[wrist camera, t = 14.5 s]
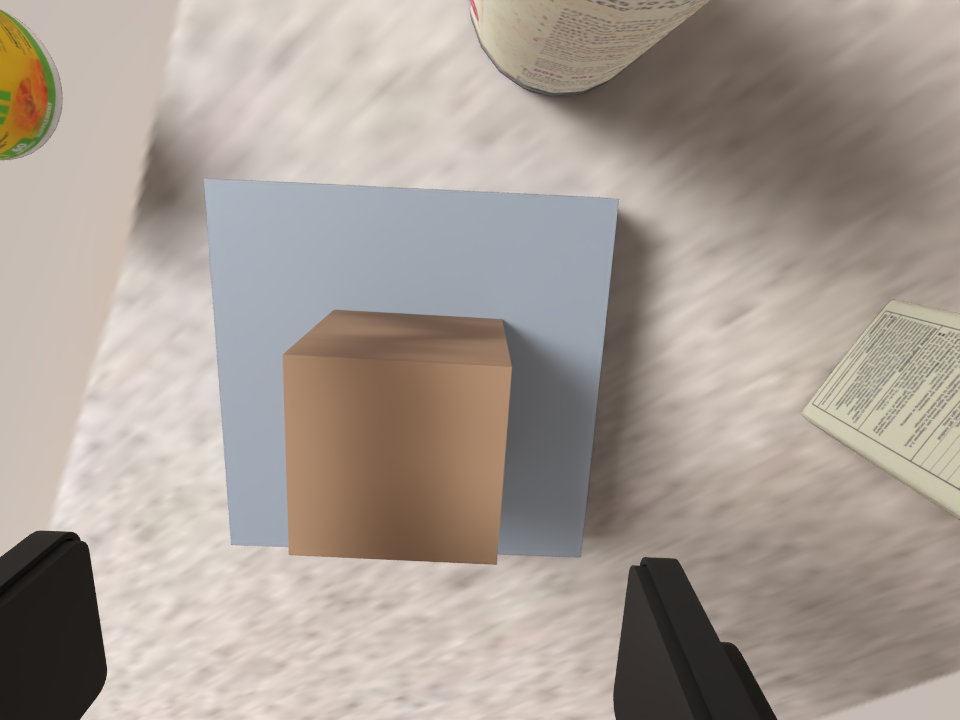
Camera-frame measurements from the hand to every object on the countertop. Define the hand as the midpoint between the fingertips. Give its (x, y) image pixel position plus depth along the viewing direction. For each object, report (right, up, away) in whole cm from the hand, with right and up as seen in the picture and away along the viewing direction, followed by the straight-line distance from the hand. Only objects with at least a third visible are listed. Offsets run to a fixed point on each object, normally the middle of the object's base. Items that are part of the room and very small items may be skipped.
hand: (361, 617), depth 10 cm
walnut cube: (0, +3, +12) cm, 13 cm away
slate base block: (-1, +5, +16) cm, 17 cm away
